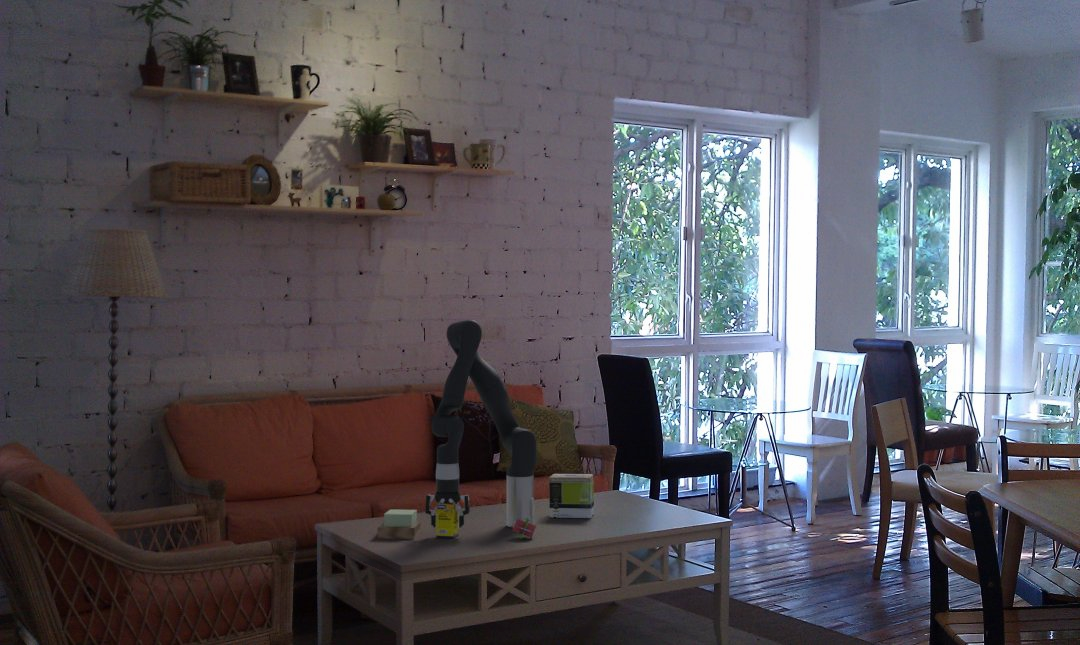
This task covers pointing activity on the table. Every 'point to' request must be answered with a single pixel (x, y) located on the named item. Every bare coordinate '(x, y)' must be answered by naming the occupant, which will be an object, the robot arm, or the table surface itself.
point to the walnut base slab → (399, 531)
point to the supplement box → (447, 521)
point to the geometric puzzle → (524, 528)
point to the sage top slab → (400, 518)
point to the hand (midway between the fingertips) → (447, 527)
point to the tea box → (571, 495)
